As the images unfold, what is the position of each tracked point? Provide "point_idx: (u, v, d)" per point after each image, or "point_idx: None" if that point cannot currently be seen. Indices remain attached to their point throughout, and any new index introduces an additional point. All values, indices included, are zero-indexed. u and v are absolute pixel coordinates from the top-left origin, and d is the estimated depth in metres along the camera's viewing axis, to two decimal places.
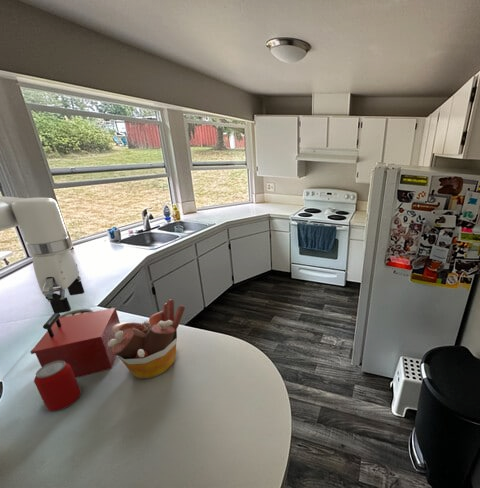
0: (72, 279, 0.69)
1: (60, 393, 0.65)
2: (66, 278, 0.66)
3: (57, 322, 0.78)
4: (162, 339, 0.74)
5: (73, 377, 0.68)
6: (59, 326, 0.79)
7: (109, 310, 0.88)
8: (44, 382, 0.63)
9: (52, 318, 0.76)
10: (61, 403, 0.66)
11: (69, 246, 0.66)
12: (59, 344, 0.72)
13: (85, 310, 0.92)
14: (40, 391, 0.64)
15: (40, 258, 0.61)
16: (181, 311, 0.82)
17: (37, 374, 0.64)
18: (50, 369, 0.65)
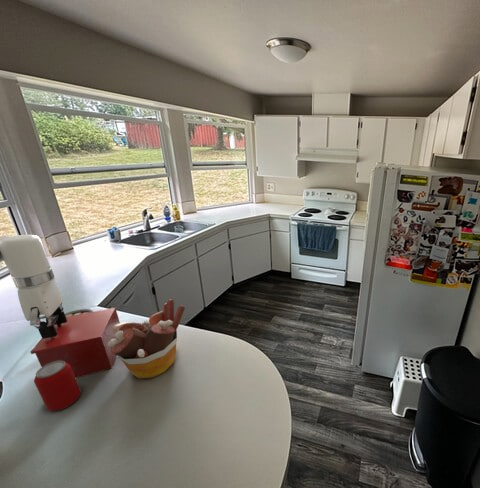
0: (55, 306, 0.75)
1: (60, 393, 0.65)
2: (50, 307, 0.72)
3: (57, 322, 0.78)
4: (162, 339, 0.74)
5: (73, 377, 0.68)
6: (59, 326, 0.79)
7: (109, 310, 0.88)
8: (44, 382, 0.63)
9: (52, 318, 0.76)
10: (61, 403, 0.66)
11: (52, 277, 0.72)
12: (59, 344, 0.72)
13: (85, 310, 0.92)
14: (40, 391, 0.64)
15: (24, 291, 0.67)
16: (181, 311, 0.82)
17: (37, 374, 0.64)
18: (50, 369, 0.65)
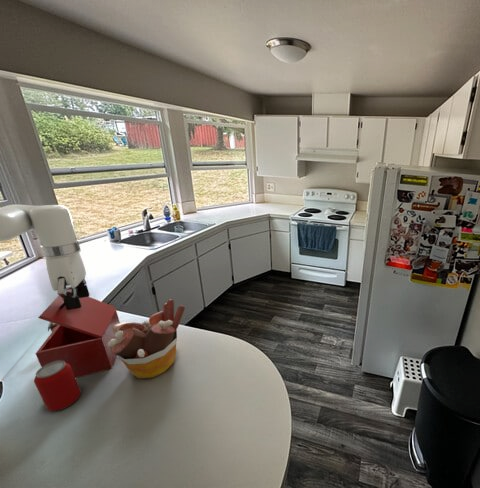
0: (80, 279, 0.75)
1: (60, 393, 0.65)
2: (75, 278, 0.73)
3: None
4: (162, 339, 0.74)
5: (73, 377, 0.68)
6: None
7: (111, 308, 0.88)
8: (44, 382, 0.63)
9: (76, 293, 0.76)
10: (61, 403, 0.66)
11: (78, 249, 0.73)
12: (65, 322, 0.71)
13: None
14: (40, 391, 0.64)
15: (52, 260, 0.68)
16: (181, 311, 0.82)
17: (37, 374, 0.64)
18: (50, 369, 0.65)
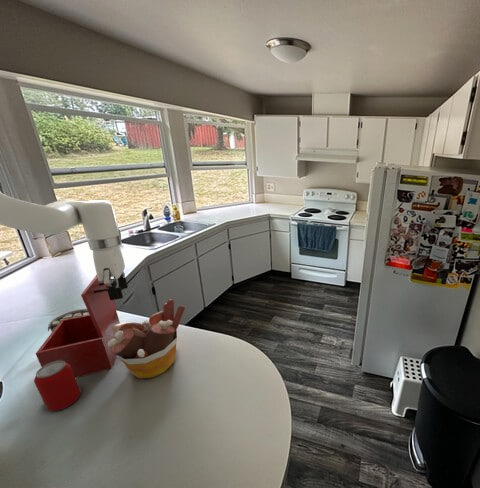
0: (121, 271, 0.79)
1: (60, 393, 0.65)
2: (118, 270, 0.77)
3: None
4: (162, 339, 0.74)
5: (73, 377, 0.68)
6: (100, 285, 0.80)
7: (114, 307, 0.88)
8: (44, 382, 0.63)
9: None
10: (61, 403, 0.66)
11: (120, 242, 0.77)
12: (92, 309, 0.73)
13: (85, 310, 0.92)
14: (40, 391, 0.64)
15: (99, 252, 0.72)
16: (181, 311, 0.82)
17: (37, 374, 0.64)
18: (50, 369, 0.65)
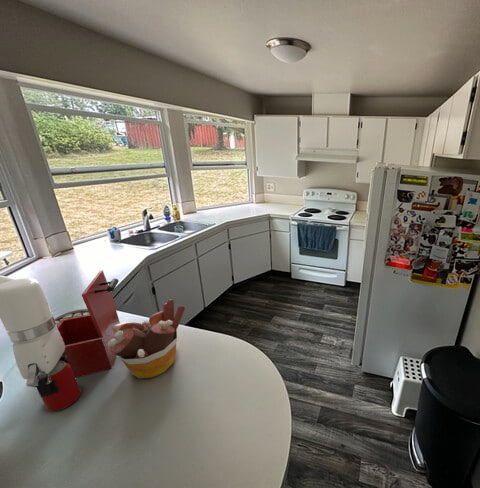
0: (57, 358, 0.65)
1: (60, 393, 0.65)
2: (51, 361, 0.62)
3: (106, 283, 0.81)
4: (162, 339, 0.74)
5: (73, 377, 0.68)
6: (100, 285, 0.80)
7: (114, 307, 0.88)
8: None
9: (115, 286, 0.80)
10: (61, 403, 0.66)
11: (53, 326, 0.62)
12: (92, 309, 0.73)
13: (85, 310, 0.92)
14: None
15: (21, 346, 0.57)
16: (181, 311, 0.82)
17: None
18: None
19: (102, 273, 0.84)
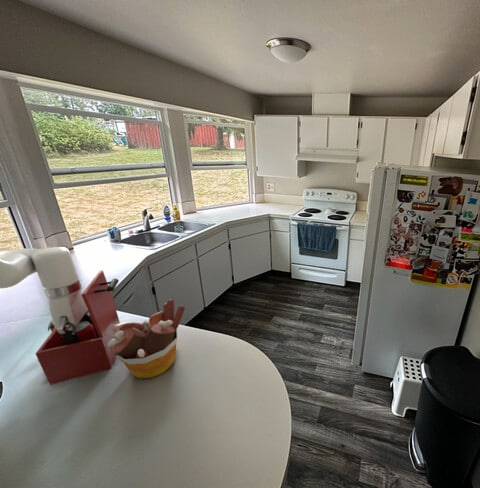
0: (82, 315, 0.79)
1: None
2: (77, 315, 0.76)
3: (106, 283, 0.81)
4: (162, 339, 0.74)
5: (95, 335, 0.82)
6: (100, 285, 0.80)
7: (114, 307, 0.88)
8: None
9: (115, 286, 0.80)
10: None
11: (79, 287, 0.76)
12: (92, 309, 0.73)
13: None
14: None
15: (55, 301, 0.71)
16: (181, 311, 0.82)
17: None
18: (77, 327, 0.79)
19: (102, 273, 0.84)
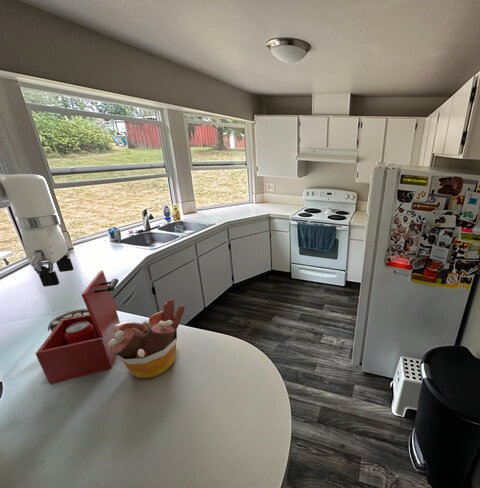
0: (61, 254, 0.72)
1: None
2: (55, 253, 0.69)
3: (106, 283, 0.81)
4: (162, 339, 0.74)
5: (95, 335, 0.82)
6: (100, 285, 0.80)
7: (114, 307, 0.88)
8: (73, 336, 0.77)
9: (115, 286, 0.80)
10: None
11: (57, 222, 0.69)
12: (92, 309, 0.73)
13: (85, 310, 0.92)
14: (69, 344, 0.78)
15: (28, 232, 0.64)
16: (181, 311, 0.82)
17: (67, 330, 0.78)
18: (77, 327, 0.79)
19: (102, 273, 0.84)
